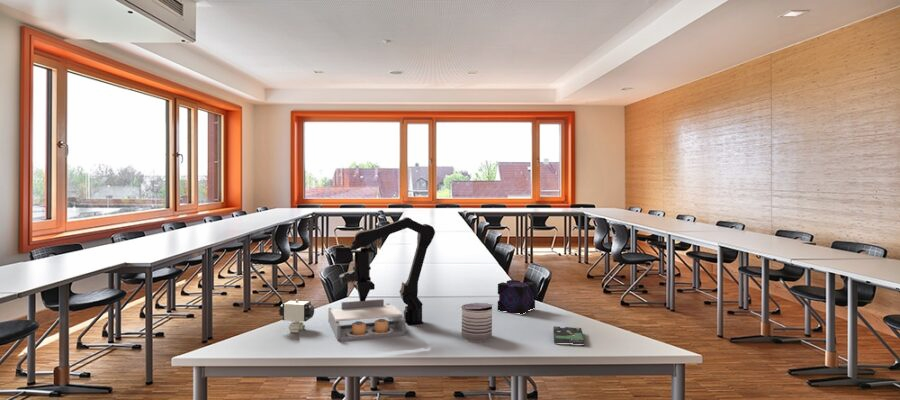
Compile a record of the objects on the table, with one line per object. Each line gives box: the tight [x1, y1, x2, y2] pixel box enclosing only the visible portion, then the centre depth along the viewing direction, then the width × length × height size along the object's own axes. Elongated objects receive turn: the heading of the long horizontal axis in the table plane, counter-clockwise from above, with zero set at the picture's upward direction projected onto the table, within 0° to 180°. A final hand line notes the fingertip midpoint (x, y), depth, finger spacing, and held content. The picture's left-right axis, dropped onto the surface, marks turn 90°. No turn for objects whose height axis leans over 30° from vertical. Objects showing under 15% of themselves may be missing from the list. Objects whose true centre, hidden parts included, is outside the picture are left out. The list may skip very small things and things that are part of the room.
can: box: [460, 302, 494, 343], centre depth 178 cm, size 11×11×12 cm
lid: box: [331, 298, 404, 322], centre depth 184 cm, size 24×14×3 cm, turn 110°
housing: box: [327, 303, 406, 342], centre depth 185 cm, size 24×27×6 cm
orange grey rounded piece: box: [374, 318, 389, 333], centre depth 179 cm, size 5×5×5 cm
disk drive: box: [552, 325, 585, 345], centre depth 177 cm, size 10×3×15 cm
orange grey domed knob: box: [351, 320, 367, 335], centre depth 176 cm, size 5×5×5 cm
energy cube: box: [497, 279, 536, 314], centre depth 217 cm, size 12×12×12 cm
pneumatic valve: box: [278, 298, 315, 334], centre depth 183 cm, size 6×12×12 cm, turn 83°
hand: (362, 304), depth 192 cm, fingers closed
